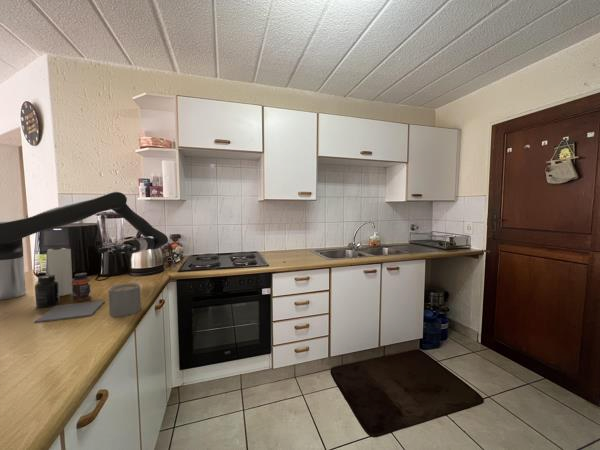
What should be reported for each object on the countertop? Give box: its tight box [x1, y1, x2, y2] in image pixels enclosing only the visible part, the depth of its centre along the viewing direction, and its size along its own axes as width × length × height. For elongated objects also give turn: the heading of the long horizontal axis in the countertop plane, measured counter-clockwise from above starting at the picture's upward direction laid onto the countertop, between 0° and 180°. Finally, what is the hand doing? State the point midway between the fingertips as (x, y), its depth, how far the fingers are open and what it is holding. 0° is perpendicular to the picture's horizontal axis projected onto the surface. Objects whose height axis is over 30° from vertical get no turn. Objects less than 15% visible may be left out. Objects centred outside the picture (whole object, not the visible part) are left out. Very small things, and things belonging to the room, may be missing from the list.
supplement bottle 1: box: [34, 274, 61, 309], centre depth 100 cm, size 7×7×12 cm
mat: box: [34, 300, 105, 324], centre depth 95 cm, size 16×14×1 cm
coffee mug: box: [108, 282, 142, 318], centre depth 98 cm, size 13×10×10 cm
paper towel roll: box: [46, 247, 73, 297], centre depth 110 cm, size 7×6×21 cm
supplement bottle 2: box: [72, 272, 92, 302], centre depth 107 cm, size 6×6×11 cm
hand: (105, 251), depth 117 cm, fingers open, 8 cm apart
